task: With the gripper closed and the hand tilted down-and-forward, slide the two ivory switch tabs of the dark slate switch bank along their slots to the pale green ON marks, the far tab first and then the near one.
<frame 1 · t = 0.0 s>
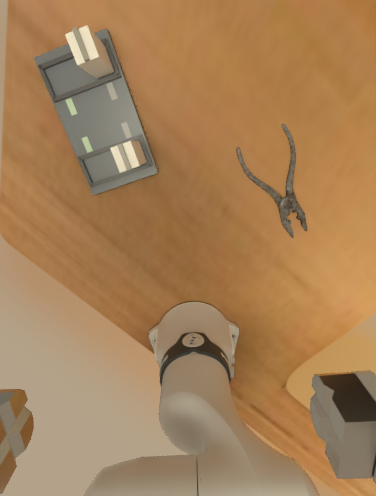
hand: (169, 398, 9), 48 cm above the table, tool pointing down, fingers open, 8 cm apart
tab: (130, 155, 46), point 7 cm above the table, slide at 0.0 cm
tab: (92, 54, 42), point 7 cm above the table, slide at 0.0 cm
switch bank: (101, 119, 50), on the table
pliers: (284, 180, 54), on the table
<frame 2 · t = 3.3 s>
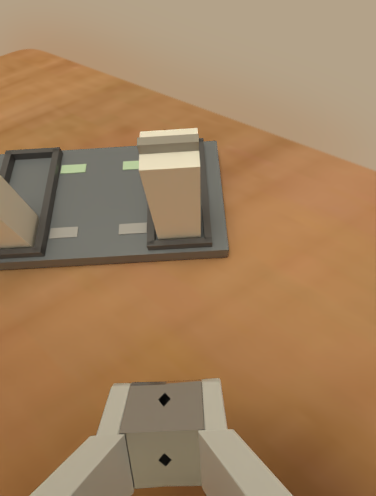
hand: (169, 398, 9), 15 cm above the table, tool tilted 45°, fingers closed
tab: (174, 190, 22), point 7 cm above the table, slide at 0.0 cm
switch bank: (106, 206, 29), on the table
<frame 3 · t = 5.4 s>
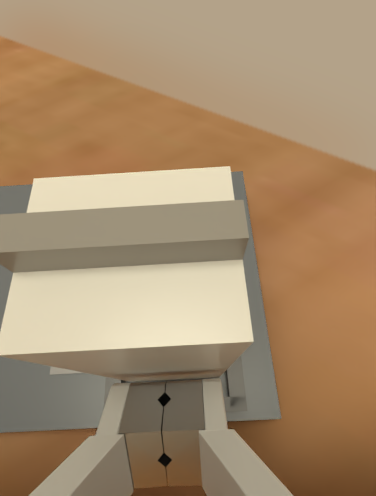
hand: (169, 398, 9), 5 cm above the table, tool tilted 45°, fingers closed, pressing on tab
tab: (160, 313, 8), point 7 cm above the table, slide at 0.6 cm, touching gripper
switch bank: (40, 294, 16), on the table
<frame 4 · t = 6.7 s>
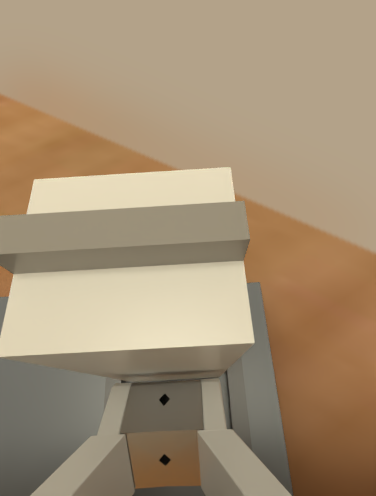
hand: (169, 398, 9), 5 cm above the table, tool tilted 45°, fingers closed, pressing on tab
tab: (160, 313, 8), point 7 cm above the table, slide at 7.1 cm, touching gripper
switch bank: (15, 442, 13), on the table
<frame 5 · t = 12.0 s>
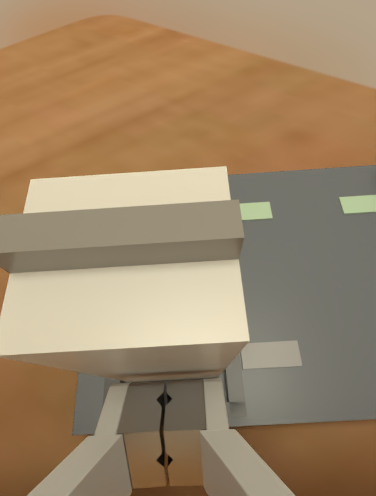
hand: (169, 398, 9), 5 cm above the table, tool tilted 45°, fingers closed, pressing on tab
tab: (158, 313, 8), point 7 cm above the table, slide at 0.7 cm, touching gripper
switch bank: (311, 282, 15), on the table
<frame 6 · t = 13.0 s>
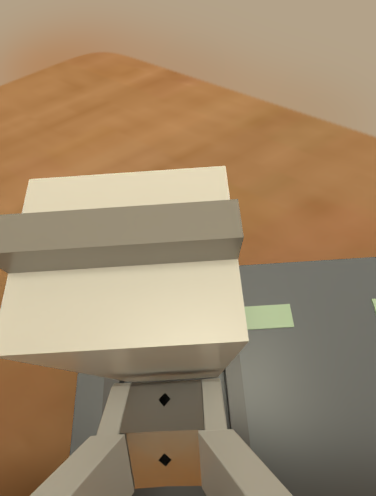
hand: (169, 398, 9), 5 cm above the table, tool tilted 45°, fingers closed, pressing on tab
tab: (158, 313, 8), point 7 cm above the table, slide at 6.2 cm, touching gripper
switch bank: (340, 402, 13), on the table
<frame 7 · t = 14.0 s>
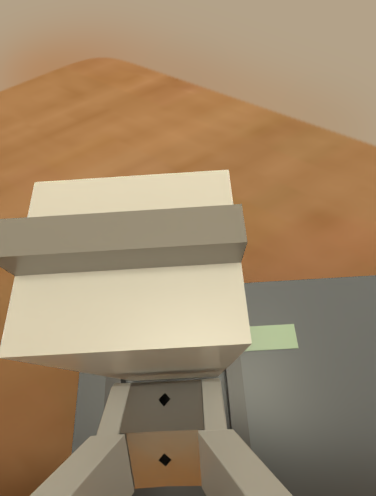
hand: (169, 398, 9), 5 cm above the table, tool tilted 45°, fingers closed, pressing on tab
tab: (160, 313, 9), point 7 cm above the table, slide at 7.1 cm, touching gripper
switch bank: (345, 424, 13), on the table
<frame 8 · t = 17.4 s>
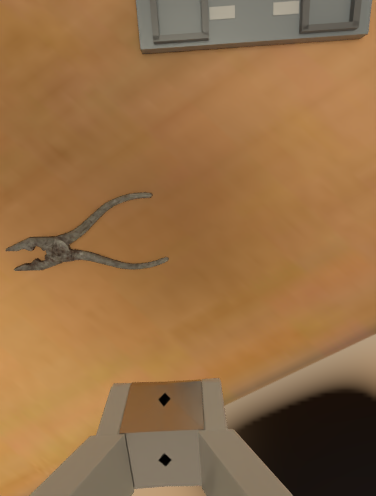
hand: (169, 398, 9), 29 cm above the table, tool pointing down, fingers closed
pliers: (93, 250, 39), on the table
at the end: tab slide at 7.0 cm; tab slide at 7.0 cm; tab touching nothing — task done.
